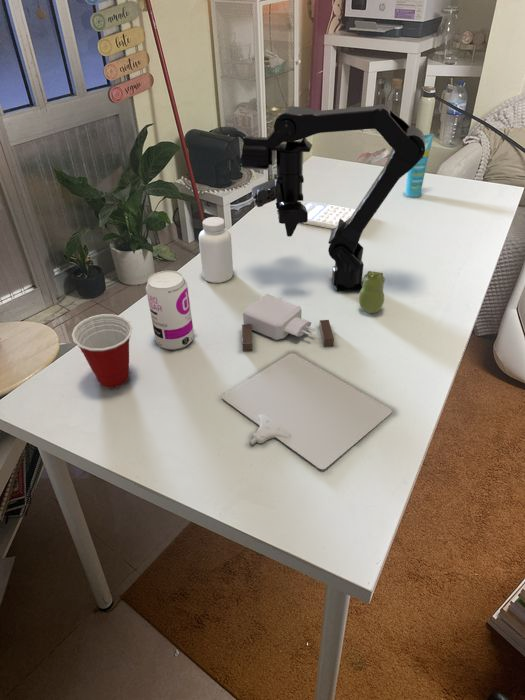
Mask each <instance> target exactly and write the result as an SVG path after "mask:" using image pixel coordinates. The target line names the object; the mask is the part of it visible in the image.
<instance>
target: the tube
mask: <svg viewBox="0 0 525 700" xmlns="http://www.w3.org/2000/svg"><path fill="white" fill-rule="evenodd" d="M434 135H435V134H434V133H429V134H424V139H425V153H424V155H423V157H422V159H421V160H420V161H419V162H418V163H417V164H416V165H415V166H414V167H413V168H412V169H411V170H410V171H409V172H407V173H406V174H407V175H406V183H405V193H404V195H405V196H406V197H408V198H419V197H420V196H421V194H422V188H423V183H424V178H425V174H426V169H427V166H428V165H427V164H428V160H429V157H430V152H431V147H432V143H433V139H434Z"/></svg>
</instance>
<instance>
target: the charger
mask: <svg viewBox="0 0 525 700" xmlns="http://www.w3.org/2000/svg"><path fill="white" fill-rule="evenodd" d="M242 317H243V318H242V319H243V320H242V321H243V325H246V324H251V331H255V332H257V333H259V334H261V335H264V336H266V337H269V338H271V339H273V340H275V341H278V340H283V339H285V338H286V337H287V336H288V335H289V334H290V335H293V336H294V337H298V338H299V337H302V336H303V335H305V334H306V335H308V336H311V334H312V333H311V332H309V331H308V330H310V331H313V332H315V331H316V329H315V328H313V327H311V325H312V321H309V320H308V319H304V318H302V308H301V306H300V305H298V304H294V303H292V302H290V301H288V300H285V299H282V298H279V297H277V296H273V295H271V294H269V293H266V294H264V295H262V296H261V297H260V298H258V299H257V300H256V301H254V302H252V303H251V304H250V305H248V306H247V307H246V308H245V309H244V310H243V313H242Z"/></svg>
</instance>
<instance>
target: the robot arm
mask: <svg viewBox="0 0 525 700" xmlns="http://www.w3.org/2000/svg"><path fill="white" fill-rule="evenodd" d="M362 130H375V131H377V132H378V133H379V135H381V137H382V138H383V139H384V141H385V142H386V143H387V144H388V145H389V147H391V150H390V152H389V155H388V158H387V160H386V163H385V165H384V166H383V168H382V170H381V171H380V173H379V174H378V175H377V177H376V178H375V180H374V181H373V183H372V184H371V186H370V187H369V189H368V191H367V192H366V193H365V195H364V196H363V198H362V200H361V201H360V203H359V204H358V206H357V207H356V208H355V209H356V210H355V211H354V213H353V214H352V216H351V217H350V218H349V219H348V220H346V221H345V222H344V221H343V220H342V219H340V220H339V222H338V224H337V226H336V227H335V229H331V232H330V235H329V239H328V244H329V245H328V255H329V257H330V258H331V259H332V260H333V261H334V265H333V266H332V273H331V282H332V285H333V286H334V289H335V292H338V293H340V292H341V293H342V292H356V291H357V292H360V291H361V289H362V287H363V275H364V274H363V273H364V262H363V254H364V246H362V245H361V244H360V243H359V242H360V240H361V237H362V234H363V232H364V230H365V228H366V227H367V226H368V224H369V223H370V221H372V218H373V217H374V215H375V214H376V213H377V211H378V210H379V208H380V207H381V206H382V205H383V203H384V201H385V200H386V199H387V198H388V196H389V194H390V193H391V191H392V190H393V188H394V187H395V186H396V184H397V183H398V181H399V180H400V179H401V178H402V177H404V176H405V175H406V174H408V172H409V171H410V170H411V169H412V168H413V167H414V166H415V165H416V164H417V163H418V162H419V161H420V160H421V159H422V157H423V155H424V153H425V139H424V135H425V134H424V133H423V131H422V130H421V129H420V128H418V127H416V126H410V125H409V124H408V123H407V122H406V121H405V120H404V119H403V118H401V117H400V116H398V115H397V114H396V113H395V112H393V111H392V110H391V108H390V107H389V106H388V105H386V104H383V103H379V104H376V105H369V106H357V107H347V108H345V107H344V108H336V109H335V108H333V109H324V110H320V109H314V108H310V107H304V106H294V105H290V106H287V107H285V108H283V109H282V111H281V112H280V114H279V115H278V116H277V117H276V119H274V124H273V131H271V132H270V134H269V135H268V136H267V137H266V136H253V135H246V136H244V138H243V143H242V144H243V145H242V149H241V155H240V163H241V166H242V169H243V170H259V171H262V170H263V171H269V170H270V168H271V166H274V165H275V163H276V172H275V173H274V178H273V179H271V180H268V181H265V182H262V183H259V184H258V185H255V186H253V187H252V188H251V196H252V197H253V201H254V203H255V205H256V207H257V208H261V207H264V205H266V204H269V203H271V202H274V201H276V202H275V208H276V213H277V219H278V223H279V224H281V225H284V228H285V232H286V236H287V237H290V238H291V237H293V234H294V233H295V230H296V228H297V227H298V225H299V224H304V223H306V222H307V221H308V213H307V209H306V207H305V206H304V205H303V203H302V202H303V201H304V194H303V183H305V181H304V180H305V179H304V174H303V172H304V171H303V168H304V167H303V166H304V153H310V152H311V150H312V148H313V144H312V143H311V142H310V141H309V140H308V139H307V138H308V137H312V136H315V135H317V134H323V133H324V134H325V133H336V132H350V131H362Z"/></svg>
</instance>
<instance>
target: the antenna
mask: <svg viewBox="0 0 525 700" xmlns="http://www.w3.org/2000/svg"><path fill="white" fill-rule="evenodd" d="M221 399H222V400H223V401H224V402H226V403H227V404H229V405H230V406H232V407H233V408H234V409H236V410H237V411H238V412H240V413H241V414H243V415H244V416H246V417H247V418H248V419H250V420H251V421H252V422H253V423H255V424H256V425H258V428H257V430H255V431H254V432H253V433H252V434H251V437H252V439H250V440H249V444H250V445H251V446H253V445H255V444H256V443H258V444H263V443H265V442H267V441H268V440H271V439H277V440H279V441H280V442H281V443H283V444H285V445H286V446H287V447H288V448H290V449H291V450H292V451H294V452H295V453H296V454H298V455H299V456H301V457H302V458H303V459H305V460H306V461H308V462H309V463H310V464H312V465H313V466H314V467H316V468H318V470H326V469H327V468H328V467H330V466H331V465H332V464H333V463H334V462H335V461H337V460H338V459H339V458H340V457H341V456H343V454H345V453H346V452H347V451H348V450H350V449H351V448H352V447H353V446H354V445H356V444H357V443H358V442H359V441H361V440H362V439H363V438H364V437H365V436H366V435H368V433H370V432H371V431H372V430H373V429H375V428H376V427H377V426H378V425H380V424H381V423H382V422H383V421H384V420H386V419H387V417H389V416H390V415H391V414H392V413H393V411H392V409H391V408H389V407H388V406H387V405H384V404H382V403H381V402H379V401H377V400H376V399H374V398H372V397H370V396H369V395H367V394H366V393H364V392H362V391H361V390H358V389H357V388H355V387H353V386H351V385H349V384H348V383H346V382H345V381H342V380H341V379H339V378H338V377H335V376H334V375H333V374H331V373H329V372H327V371H325V370H323V369H321V368H320V367H318V366H317V365H315V364H313V363H311V362H310V361H307V359H304V358H303V357H301V356H299V355H298V354H296V353H291V352H290V353H289V354H287V355H285V356H283V357H282V358H281V359H279V360H277V361H275V362H274V363H272V364H271V365H269V366H267V367H266V368H264V369H263V370H261V371H260V372H258V373H256V374H255V375H253V376H251V377H250V378H248V379H247V380H245V381H243V382H242V383H241V384H240V383H239V385H237V386H235V387H234V388H232V389H230V390H229V391H227V392H225V393H224V394H223V395H222V396H221Z"/></svg>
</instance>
